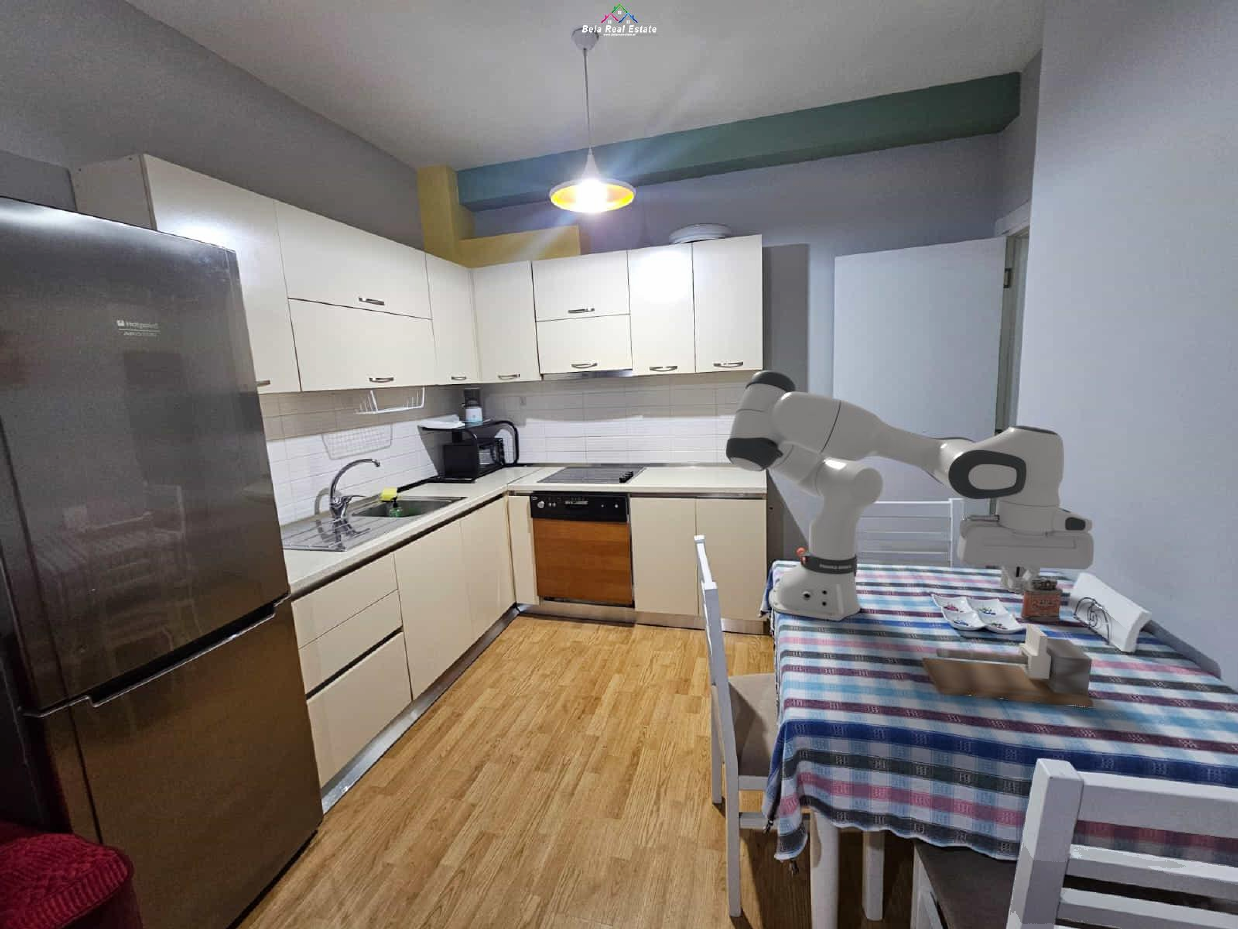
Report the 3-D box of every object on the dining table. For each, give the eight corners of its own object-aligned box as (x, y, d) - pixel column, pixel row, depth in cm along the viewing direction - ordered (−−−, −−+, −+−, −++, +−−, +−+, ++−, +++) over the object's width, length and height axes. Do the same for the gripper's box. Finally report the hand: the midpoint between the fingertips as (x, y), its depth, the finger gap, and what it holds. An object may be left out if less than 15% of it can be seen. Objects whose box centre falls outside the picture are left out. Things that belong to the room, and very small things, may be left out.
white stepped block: (1029, 677, 94) (1034, 635, 93) (1017, 664, 99) (1021, 623, 97) (1048, 678, 94) (1053, 636, 92) (1035, 665, 98) (1040, 624, 96)
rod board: (939, 693, 96) (942, 651, 95) (922, 664, 106) (924, 626, 104) (1091, 708, 90) (1097, 664, 89) (1058, 676, 100) (1063, 635, 98)
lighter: (1052, 614, 124) (1057, 575, 122) (1063, 621, 120) (1067, 581, 119) (1017, 614, 124) (1020, 575, 123) (1026, 621, 121) (1030, 581, 119)
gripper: (968, 519, 91) (962, 591, 94) (1104, 522, 87) (1094, 598, 89) (954, 510, 97) (948, 578, 100) (1080, 512, 93) (1071, 584, 95)
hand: (1018, 588), depth 94 cm, fingers closed
